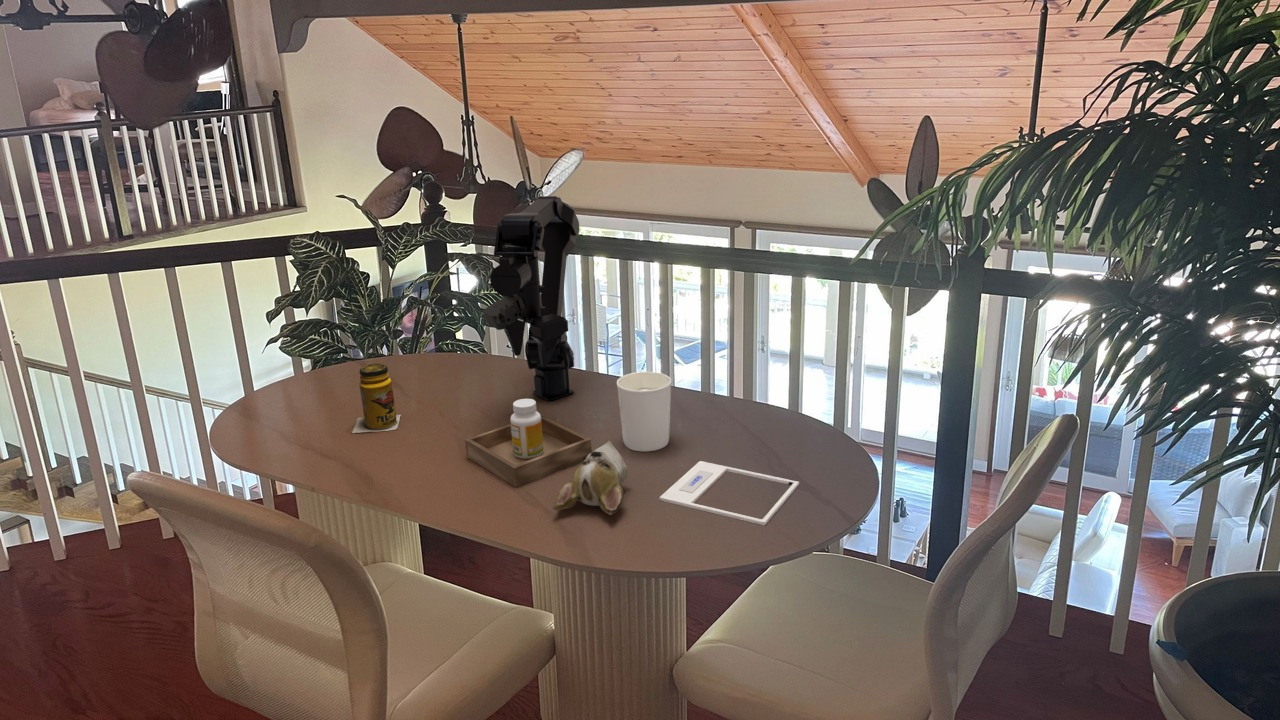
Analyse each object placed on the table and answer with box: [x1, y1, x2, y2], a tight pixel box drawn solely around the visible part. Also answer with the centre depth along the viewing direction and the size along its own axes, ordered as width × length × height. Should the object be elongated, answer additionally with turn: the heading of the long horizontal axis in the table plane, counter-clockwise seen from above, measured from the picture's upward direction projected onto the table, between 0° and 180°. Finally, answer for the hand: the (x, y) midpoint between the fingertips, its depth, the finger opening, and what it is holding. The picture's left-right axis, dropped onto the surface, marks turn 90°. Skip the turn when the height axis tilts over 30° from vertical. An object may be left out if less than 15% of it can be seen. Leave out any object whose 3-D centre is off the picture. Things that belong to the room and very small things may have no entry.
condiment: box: [351, 363, 401, 434], centre depth 174 cm, size 7×8×12 cm
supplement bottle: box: [510, 398, 543, 459], centre depth 158 cm, size 5×5×10 cm
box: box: [464, 414, 593, 488], centre depth 159 cm, size 16×16×4 cm
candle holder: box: [616, 371, 673, 452], centre depth 162 cm, size 10×10×12 cm
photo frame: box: [659, 460, 800, 526], centre depth 144 cm, size 15×1×18 cm
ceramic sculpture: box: [552, 440, 628, 516], centre depth 142 cm, size 11×9×15 cm
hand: (530, 360), depth 172 cm, fingers open, 9 cm apart
